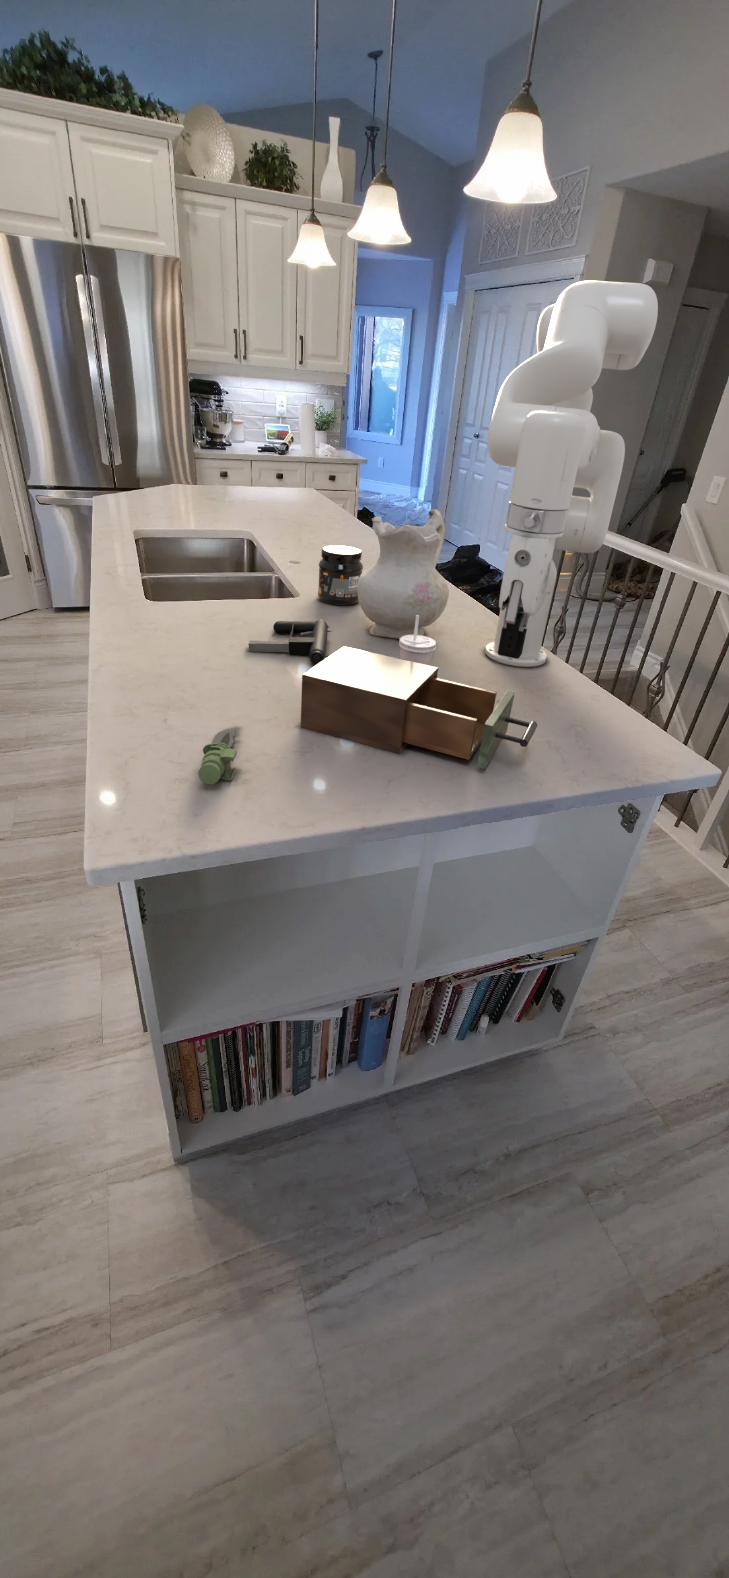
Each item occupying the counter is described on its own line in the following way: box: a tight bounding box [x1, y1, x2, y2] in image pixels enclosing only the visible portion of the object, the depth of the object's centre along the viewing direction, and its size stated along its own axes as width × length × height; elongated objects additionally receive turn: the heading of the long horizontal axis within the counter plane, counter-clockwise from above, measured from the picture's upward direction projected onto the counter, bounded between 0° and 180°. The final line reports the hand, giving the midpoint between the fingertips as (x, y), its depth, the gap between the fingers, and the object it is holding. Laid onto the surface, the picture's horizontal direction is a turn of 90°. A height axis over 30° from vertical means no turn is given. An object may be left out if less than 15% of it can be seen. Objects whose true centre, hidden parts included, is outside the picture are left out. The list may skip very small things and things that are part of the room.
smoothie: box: [398, 615, 437, 666], centre depth 117 cm, size 6×6×14 cm
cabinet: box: [300, 645, 439, 755], centre depth 107 cm, size 17×15×9 cm
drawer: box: [403, 677, 538, 770], centre depth 102 cm, size 20×14×7 cm, turn 66°
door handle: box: [247, 619, 333, 666], centre depth 135 cm, size 3×20×16 cm
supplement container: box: [317, 544, 364, 606], centre depth 163 cm, size 10×10×12 cm
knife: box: [198, 728, 238, 785], centre depth 95 cm, size 4×18×5 cm
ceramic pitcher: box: [357, 508, 450, 640], centre depth 143 cm, size 22×20×25 cm
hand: (509, 654), depth 97 cm, fingers closed
